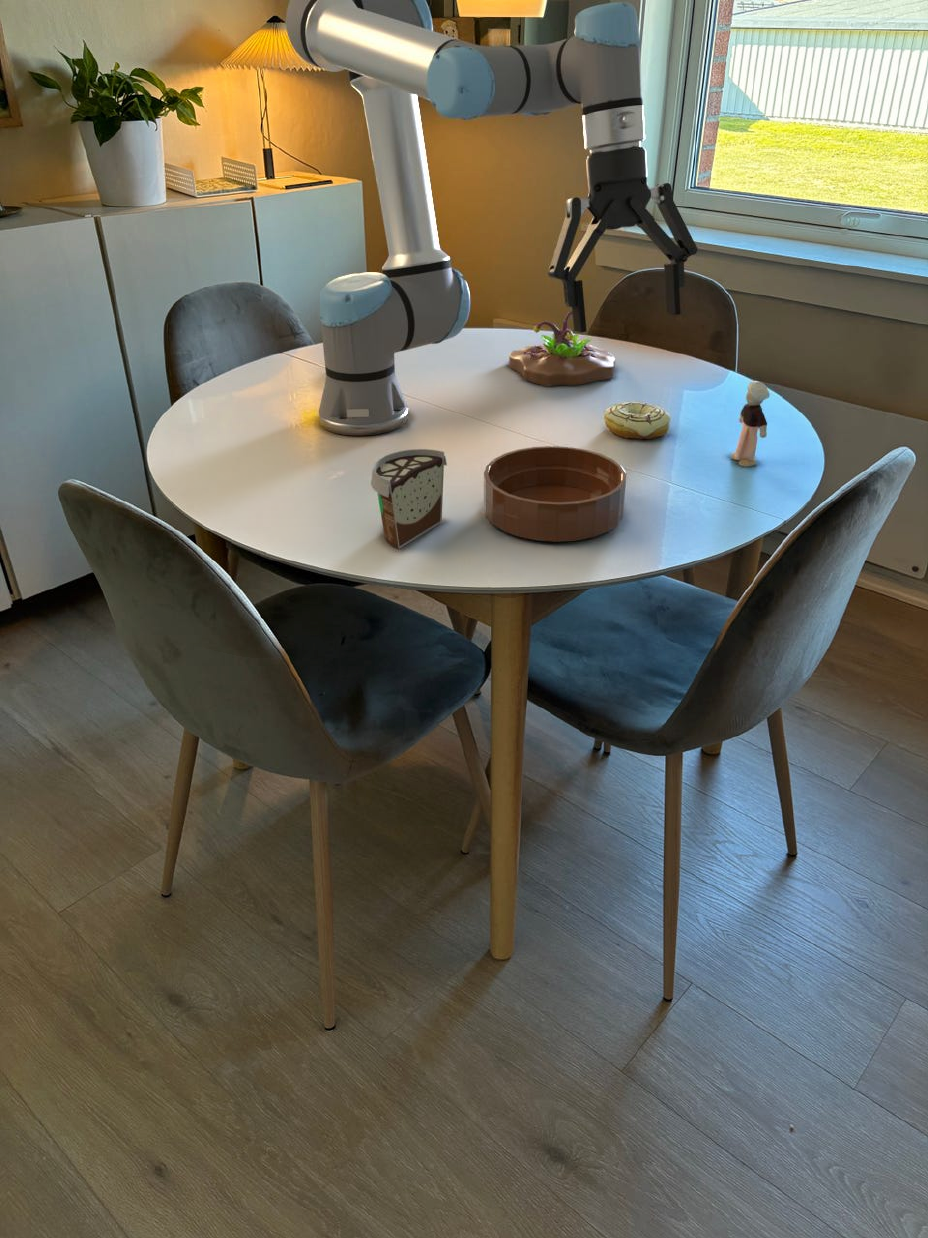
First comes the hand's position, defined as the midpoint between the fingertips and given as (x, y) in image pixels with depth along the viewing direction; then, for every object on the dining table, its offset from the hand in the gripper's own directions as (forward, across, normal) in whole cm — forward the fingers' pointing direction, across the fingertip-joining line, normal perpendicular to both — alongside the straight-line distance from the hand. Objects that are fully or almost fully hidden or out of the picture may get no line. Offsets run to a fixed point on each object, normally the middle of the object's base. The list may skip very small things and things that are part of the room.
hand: (627, 322), depth 126 cm
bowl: (+23, -14, -3) cm, 27 cm away
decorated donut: (+21, +9, +22) cm, 31 cm away
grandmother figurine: (+25, +20, +5) cm, 32 cm away
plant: (+14, +9, +55) cm, 58 cm away
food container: (+21, -36, -2) cm, 41 cm away
